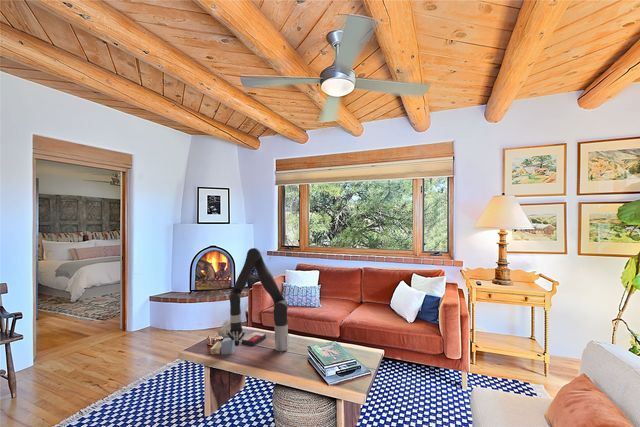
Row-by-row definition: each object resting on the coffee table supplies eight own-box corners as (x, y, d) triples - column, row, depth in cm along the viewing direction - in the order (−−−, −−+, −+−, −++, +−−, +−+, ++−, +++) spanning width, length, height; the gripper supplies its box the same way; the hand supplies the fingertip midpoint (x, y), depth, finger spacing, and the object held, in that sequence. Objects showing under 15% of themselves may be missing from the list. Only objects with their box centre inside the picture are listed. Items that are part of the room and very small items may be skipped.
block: (234, 349, 210) (234, 337, 210) (231, 353, 203) (231, 342, 203) (224, 349, 210) (224, 338, 210) (221, 353, 203) (221, 342, 203)
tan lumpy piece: (225, 346, 215) (225, 341, 215) (219, 354, 203) (219, 348, 203) (217, 346, 215) (217, 341, 215) (210, 353, 203) (210, 348, 203)
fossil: (222, 341, 219) (226, 320, 223) (212, 339, 222) (217, 318, 227) (235, 340, 232) (239, 320, 237) (226, 338, 236) (230, 318, 241)
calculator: (241, 338, 220) (254, 331, 233) (241, 344, 220) (254, 336, 233) (253, 341, 215) (266, 333, 228) (253, 347, 215) (266, 338, 228)
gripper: (246, 318, 210) (248, 343, 210) (228, 319, 211) (229, 343, 210) (243, 322, 202) (244, 348, 202) (224, 322, 203) (225, 348, 203)
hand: (237, 345), depth 206 cm, fingers closed
